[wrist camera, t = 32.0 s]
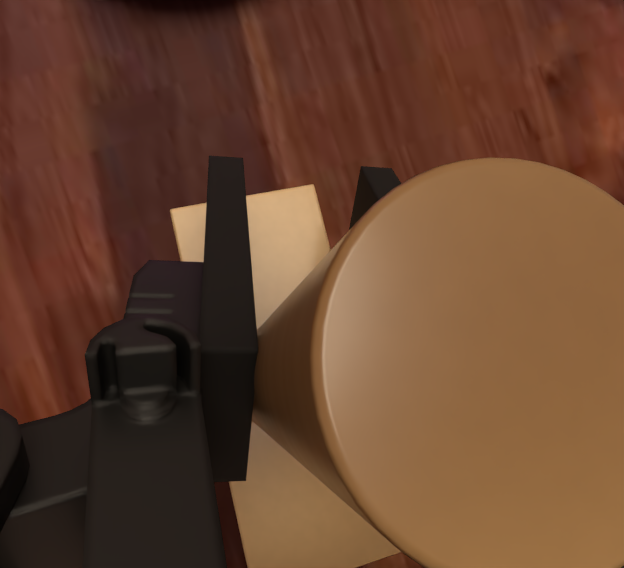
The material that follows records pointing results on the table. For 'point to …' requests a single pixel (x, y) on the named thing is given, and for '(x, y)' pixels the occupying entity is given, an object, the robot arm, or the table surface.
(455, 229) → the peg on base
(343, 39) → the table surface
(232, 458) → the robot arm
